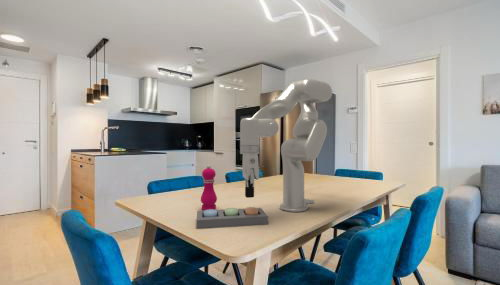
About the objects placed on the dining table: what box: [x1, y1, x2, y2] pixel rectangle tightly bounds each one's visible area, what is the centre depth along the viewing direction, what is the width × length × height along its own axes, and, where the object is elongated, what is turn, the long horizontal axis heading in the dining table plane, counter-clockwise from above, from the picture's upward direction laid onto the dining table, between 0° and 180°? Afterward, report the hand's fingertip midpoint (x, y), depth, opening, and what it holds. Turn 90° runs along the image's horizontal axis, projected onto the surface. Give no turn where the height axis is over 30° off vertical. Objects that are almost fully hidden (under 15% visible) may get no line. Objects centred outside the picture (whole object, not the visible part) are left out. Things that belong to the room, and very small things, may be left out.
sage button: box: [224, 207, 239, 216], centre depth 99 cm, size 5×5×3 cm
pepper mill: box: [200, 164, 218, 211], centre depth 116 cm, size 7×7×20 cm
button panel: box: [196, 207, 269, 230], centre depth 99 cm, size 26×12×3 cm, turn 101°
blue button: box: [203, 209, 218, 217], centre depth 97 cm, size 5×5×3 cm
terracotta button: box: [244, 206, 259, 215], centre depth 100 cm, size 5×5×3 cm
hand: (249, 196), depth 100 cm, fingers closed
